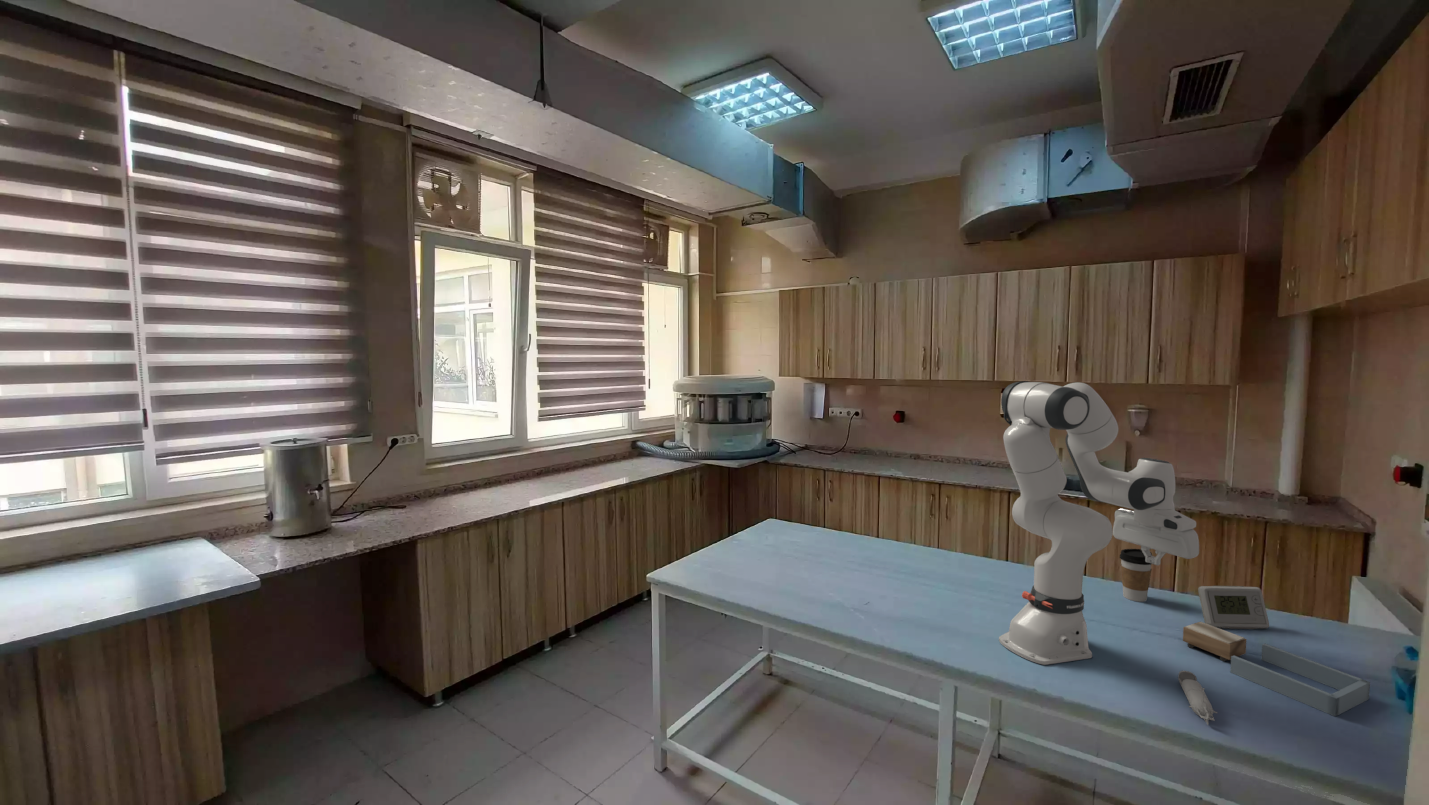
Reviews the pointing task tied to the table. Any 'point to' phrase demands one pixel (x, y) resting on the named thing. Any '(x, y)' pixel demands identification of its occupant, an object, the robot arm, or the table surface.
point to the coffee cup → (1135, 574)
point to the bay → (1333, 704)
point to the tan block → (1214, 640)
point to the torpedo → (1196, 695)
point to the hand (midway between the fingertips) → (1152, 563)
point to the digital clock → (1233, 607)
